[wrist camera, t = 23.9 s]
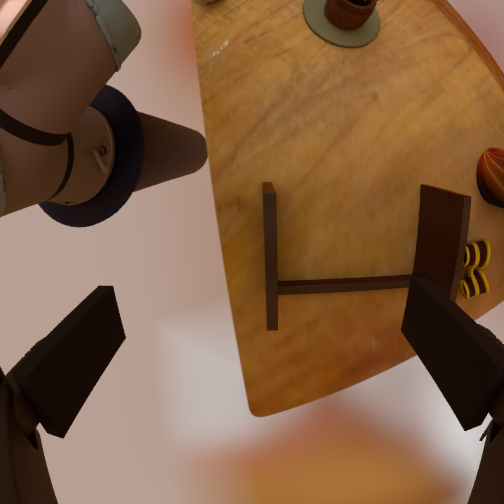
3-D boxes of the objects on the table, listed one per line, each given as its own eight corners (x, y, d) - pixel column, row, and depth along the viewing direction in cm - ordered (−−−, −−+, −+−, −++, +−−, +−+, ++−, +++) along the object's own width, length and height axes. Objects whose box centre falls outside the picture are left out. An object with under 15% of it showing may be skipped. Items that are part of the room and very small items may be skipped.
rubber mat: (286, 7, 31) (286, 6, 30) (339, -24, 28) (340, -26, 28) (342, 61, 33) (343, 60, 33) (392, 26, 31) (394, 25, 30)
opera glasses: (455, 240, 41) (467, 251, 37) (480, 233, 40) (493, 244, 35) (457, 291, 44) (467, 306, 39) (480, 284, 42) (492, 298, 38)
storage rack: (417, 281, 43) (452, 314, 32) (265, 289, 44) (267, 330, 33) (427, 184, 38) (471, 196, 28) (262, 182, 39) (263, 192, 28)
